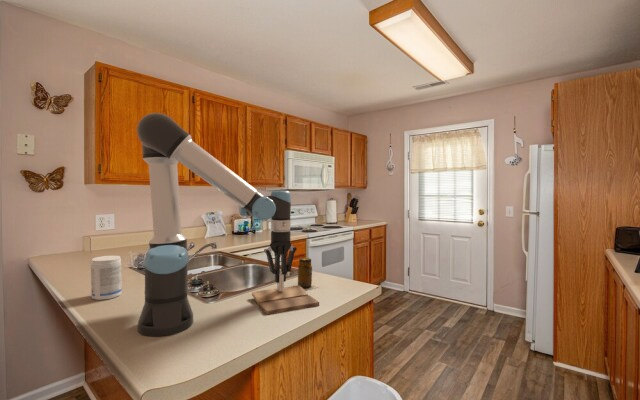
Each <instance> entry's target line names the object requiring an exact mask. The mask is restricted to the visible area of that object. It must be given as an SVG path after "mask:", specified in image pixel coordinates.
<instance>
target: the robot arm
mask: <svg viewBox="0 0 640 400" xmlns="http://www.w3.org/2000/svg"><path fill="white" fill-rule="evenodd" d="M136 127H137V128H136V131H137V132H136V133H137V137H138V140H139V141H140V142H141V146H142V147H141V149H142V160H143V161H144V162H145V163H146V164H147V165H148V174H149V186H150V187H149V189H150V200H151V203H150V204H151V215H152V216H151V217H152V229H153V230H152V231H153V232H152V233H153V236H152V238H150V240H149V241H148V246H149V249H148V250H147V251H146V253H145V255H144V261H143V265H144V304H143V307H142V310H141V312H140V316H139V318H138V321H137V332H138V333H139V334H141V335H142V336H143V335H144V336H148V337H161V336H162V337H164V336H168V335H169V336H170V335H174V334H178V333H180V332H183V331H185V330H187V329H188V328H189V327H191V326H192V325H193V324H194V313H193V310H192V306H191V304H190V301H189V298H188V284H189V283H188V280H189V279H188V277H189V276H188V274H189V273H188V271H189V270H188V268H189V260H190V259H189V258H190V257H189V256H190V255H189V251H188V240H187V239H188V237H187V236H185V235H184V234H183V233H182V219H181V207H180V206H181V203H180V188H179V174H178V164H179V163H180V164H181V165H182V166H184V167H186V168H187V169H188V170H190V171H191V172H192V173H194V174H195V175H196V176H198V177H200V178H201V179H202V180H203V181H205V182H207V184H209V185H210V186H212V187H213V188H214V189H216V190H217V191H219V192H220V193H221V194H223V195H224V196H226V197H227V198H228V199H230V200H231V201H233V202H234V203H236V204H237V205H238V213H239V215H240V216H241V217H248V218H249V217H254V218H256V219H257V220H258V221H267V220H270V230H271V231H270V245H269V246H268V247H267V248H264V249H263V251H264V253H265V255H266V258H267V262H268V266H269V271H270V272H271V274H272V275H275V276H274V281H275V282H274V283H276V284H277V285H276V289H277V290H278V291H284V288H285V285H284V284H285V282H286V281H287V275H288V273H290V272H291V271H292V267H293V261H294V257H295V253H296V251H297V249H298V248H297V247H296V246H293V245H292V243H291V224H292V223H291V219H292V218H291V212H292V211H291V207H292V200H291V199H292V198H291V192H290V191H289V190H272V191H271V192H270V193H271V194H270V195H264V194H263V193H262V192H260V191H258V190H257V189H256V188H255V187H253V185H251V184H249V183H248V182H247V181H246V180H244V179H243V178H242V177H240V176H239V175H238V174H237V173H235V172H234V171H233V170H231V169H230V167H229V168H228V166H226V165H225V164H224V163H223V162H221V161H220V160H219V159H217V158H216V157H214V156H213V155H212V154H210V153H209V152H208V151H206V150H205V149H204V148H202V147H201V146H200V145H198V144H197V143H196V142H194V141H193V139H192V135H191V134H189V133H188V132H187V131H186V130H184V129H183V128H182V127H181V126H180V124H178V123H177V121H175V120H174V119H173V118H172V117H170V116H168V115H167V114H165V113H160V112H152V113H148V114H147V115H144V116H143V117H142V118H141V119H140V120H139V122H138V124H137V126H136ZM272 252H273V254H274V259H273V254H272Z"/></svg>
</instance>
